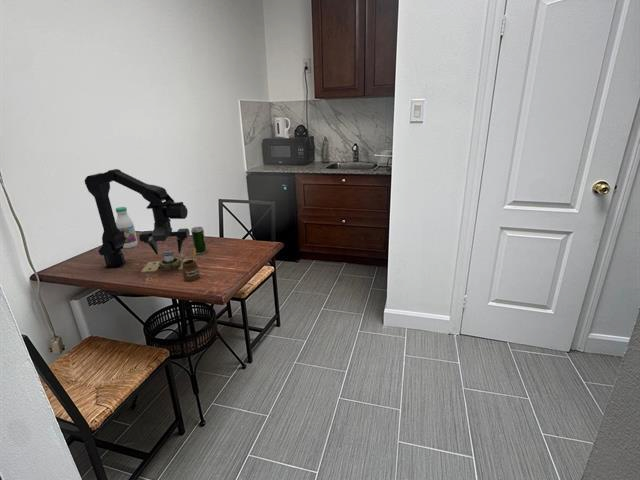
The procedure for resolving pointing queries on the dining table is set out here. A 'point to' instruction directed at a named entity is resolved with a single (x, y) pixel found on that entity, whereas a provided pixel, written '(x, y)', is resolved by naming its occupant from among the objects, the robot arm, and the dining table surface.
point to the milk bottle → (126, 227)
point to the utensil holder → (190, 269)
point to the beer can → (199, 240)
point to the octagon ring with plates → (164, 265)
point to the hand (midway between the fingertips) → (168, 253)
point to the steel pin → (168, 256)
